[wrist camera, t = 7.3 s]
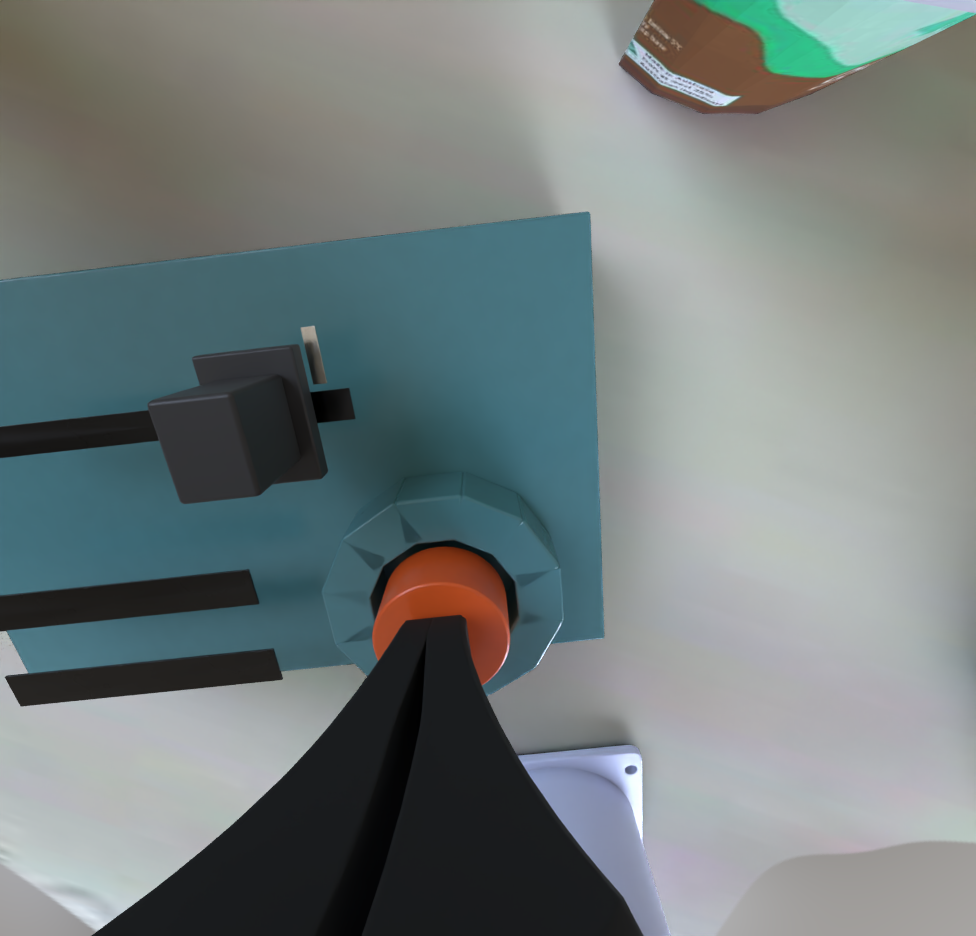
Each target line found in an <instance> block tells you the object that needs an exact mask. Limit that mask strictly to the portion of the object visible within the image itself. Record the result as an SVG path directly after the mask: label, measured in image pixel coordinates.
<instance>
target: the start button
mask: <svg viewBox="0 0 976 936" xmlns="http://www.w3.org/2000/svg"><path fill="white" fill-rule="evenodd" d="M453 615H462V616H463V617H464V618H466V621H467V628H468V635H469V642H470V649H471V656H472V660H473V663H474V666H475V668H476V671H477V674H478V676H479V679H480V682H481V684H482V685H483V684H485V683H486V682H488V681H489V680H490V679H491V678H492V677H494V676H495V674H496V673H497V672H498V671H499V670H500V668H501V667H502V665H503V663H504V662H505V659H506V657H507V655H508V651H509V647H510V629H509V618H508V608H507V598H506V591H505V587H504V584H503V581H502V579H501V577H500V575H499V574H498V572H497V571H496V570H495V569H494V567H493V566H492V565H491V564H490V563H488V562H487V561H486V560H485V559H483V558H482V557H480V556H479V555H477V554H475V553H473V552H471V551H468V550H465V549H461V548H456V547H446V546H445V547H434V548H428V549H425V550H422V551H419V552H417V553H415V554H413V555H411V556H409V557H408V558H406V559H405V560H404V561H403V562H401V563H400V564H399V565H398V566H397V567H396V569H395V570H394V571H393V573H392V574H391V576H390V578H389V580H388V583H387V585H386V588H385V592H384V595H383V598H382V601H381V604H380V607H379V610H378V613H377V617H376V620H375V623H374V626H373V632H372V642H373V648H374V651H375V655H376V657H377V659H378V661H379V659H380V658H381V656H382V655H383V653H384V652H385V650H386V649H387V647H388V646H389V644H390V643H391V641H392V640H393V638H394V637H395V635H396V633H397V632H398V630H399V629H400V627H401V626H402V624H403V623H404V622H405V621H406V620H414V619H424V618H433V617H443V616H453Z"/></svg>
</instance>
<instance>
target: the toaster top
mask: <svg viewBox="0 0 976 936" xmlns="http://www.w3.org/2000/svg"><path fill="white" fill-rule="evenodd" d="M301 333H302V337H303V341H304V346H305V350H306V355H307V359H308V364H309V368H310V372H311V377H312V381H313V385H316V384H325V383H328V382H327V378H326V373H325V368H324V364H323V359H322V355H321V350H320V345H319V341H318V336H317V331H316V327H315V326H309V327H301ZM310 394H311V398H312V402H313V407H314V411H315V415H316V420H317V423H325V422H334V421H343V420H352V419H356V417H355V412H354V407H353V402H352V397H351V392H350V388H341V389H332V390H323V391H314V392H310ZM153 441H159V439H158V436H157V433H156V431H155V428H154V425H153V422H152V419H151V416H150V413H149V410H143V411H134V412H125V413H116V414H107V415H98V416H89V417H80V418H71V419H62V420H53V421H44V422H35V423H26V424H17V425H8V426H0V458H7V457H16V456H26V455H35V454H44V453H53V452H62V451H71V450H80V449H89V448H98V447H107V446H116V445H125V444H134V443H144V442H153ZM259 603H260V602H259V599H258V596H257V593H256V589H255V586H254V583H253V580H252V576H251V573H250V570H249V569H245V570H235V571H226V572H216V573H207V574H197V575H188V576H178V577H169V578H159V579H150V580H140V581H131V582H122V583H112V584H103V585H93V586H84V587H74V588H65V589H55V590H46V591H36V592H27V593H17V594H8V595H0V631H9V630H18V629H28V628H38V627H47V626H57V625H66V624H76V623H85V622H95V621H105V620H114V619H124V618H133V617H143V616H152V615H162V614H172V613H181V612H191V611H200V610H210V609H219V608H229V607H239V606H248V605H258V604H259ZM5 678H6V680H7V682H8V684H9V686H10V688H11V689H12V691H13V693H14V695H15V697H16V699H17V700H18V702H19V704H20V706H30V705H39V704H49V703H59V702H69V701H79V700H88V699H98V698H108V697H118V696H128V695H138V694H147V693H157V692H167V691H177V690H187V689H196V688H206V687H216V686H226V685H236V684H245V683H255V682H265V681H275V680H282V679H283V677H282V674H281V670H280V667H279V664H278V661H277V657H276V654H275V651H274V648H271V649H261V650H251V651H241V652H232V653H222V654H212V655H203V656H193V657H183V658H173V659H164V660H154V661H144V662H135V663H125V664H115V665H106V666H96V667H86V668H76V669H67V670H57V671H47V672H38V673H28V674H18V675H8V676H6V677H5Z"/></svg>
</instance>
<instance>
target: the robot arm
mask: <svg viewBox="0 0 976 936" xmlns="http://www.w3.org/2000/svg"><path fill="white" fill-rule="evenodd" d="M92 936H671V934H670V931H669V928H668V925H667V921H666V918H665V915H664V912H663V908H662V905H661V902H660V898H659V895H658V892H657V889H656V885H655V882H654V879H653V875H652V872H651V869H650V866H649V862H648V859H647V856H646V852H645V849H644V846H643V843H642V756H641V753H640V751H639V749H638V748H637V747H636V746H634V745H620V746H610V747H600V748H590V749H580V750H570V751H560V752H549V753H539V754H529V755H519V756H517V754H516V753H515V751H514V749H513V747H512V746H511V744H510V742H509V740H508V738H507V737H506V735H505V733H504V731H503V729H502V727H501V725H500V724H499V722H498V720H497V718H496V716H495V713H494V711H493V709H492V707H491V705H490V703H489V701H488V698H487V696H486V694H485V692H484V689H483V687H482V684H481V682H480V679H479V676H478V674H477V671H476V668H475V666H474V663H473V660H472V656H471V649H470V642H469V635H468V628H467V621H466V618H464V617H463V616H462V615H453V616H443V617H433V618H424V619H414V620H406V621H405V622H404V623H403V624H402V626H401V627H400V629H399V630H398V632H397V633H396V635H395V637H394V638H393V640H392V641H391V643H390V644H389V646H388V647H387V649H386V650H385V652H384V653H383V655H382V656H381V658H380V659H379V661H378V662H377V664H376V665H375V667H374V668H373V669H372V671H371V672H370V674H369V675H368V676H367V678H366V679H365V680H364V682H363V683H362V685H361V686H360V687H359V689H358V690H357V692H356V693H355V694H354V696H353V697H352V698H351V699H350V701H349V702H348V703H347V704H346V706H345V707H344V708H343V709H342V711H341V712H340V713H339V714H338V716H337V717H336V718H335V719H334V721H333V722H332V723H331V724H330V726H329V727H328V728H327V729H326V730H325V732H324V733H323V734H322V735H321V736H320V737H319V739H318V740H317V741H316V742H315V743H314V744H313V745H312V747H311V748H310V749H309V750H308V751H307V752H306V753H305V754H304V755H303V756H302V757H301V759H300V760H299V761H298V762H297V763H296V764H295V765H294V766H293V767H292V768H291V769H290V770H289V771H288V772H287V773H286V774H285V775H284V776H283V777H282V778H281V779H280V780H279V781H278V782H277V783H276V784H275V785H274V786H273V787H272V788H271V789H270V790H269V791H268V792H267V793H266V794H265V795H264V796H263V797H261V798H260V799H259V800H258V801H257V802H256V803H255V804H254V805H253V806H252V807H251V808H250V809H249V810H248V811H247V812H246V813H244V814H243V815H242V816H241V817H240V818H239V819H238V820H237V821H236V822H235V823H234V824H233V825H231V826H230V827H229V828H228V829H227V830H226V831H224V832H223V833H222V834H221V835H220V836H219V837H217V838H216V839H215V840H214V841H213V842H212V843H210V844H209V845H208V846H207V847H206V848H205V849H203V850H202V851H201V852H200V853H199V854H197V855H196V856H195V857H194V858H192V859H191V860H190V861H189V862H188V863H186V864H185V865H184V866H183V867H181V868H180V869H179V870H178V871H177V872H175V873H174V874H173V875H172V876H170V877H169V878H168V879H166V880H165V881H164V882H163V883H161V884H160V885H159V886H158V887H156V888H155V889H154V890H152V891H151V892H150V893H148V894H147V895H146V896H144V897H143V898H142V899H140V900H139V901H138V902H136V903H135V904H134V905H132V906H131V907H130V908H128V909H127V910H125V911H124V912H123V913H121V914H120V915H119V916H117V917H116V918H115V919H113V920H112V921H111V922H109V923H108V924H107V925H105V926H104V927H103V928H101V929H100V930H99V931H97V932H96V933H95V934H93V935H92Z"/></svg>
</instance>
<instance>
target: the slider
mask: <svg viewBox="0 0 976 936" xmlns="http://www.w3.org/2000/svg"><path fill="white" fill-rule="evenodd" d="M192 362H193V365H194V368H195V371H196V375H197V378H198V381H199V385H200V386H197V387H193V388H190V389H187V390H183V391H180V392H177V393H174V394H170V395H167V396H164V397H160V398H157V399H154V400H151V401H150V402H148V403H147V407H148V410H149V413H150V416H151V419H152V422H153V425H154V428H155V431H156V433H157V436H158V439H159V442H160V445H161V448H162V451H163V454H164V457H165V460H166V462H167V465H168V468H169V471H170V474H171V477H172V480H173V483H174V486H175V489H176V492H177V494H178V497H179V500H180V502H181V503H182V504H191V503H201V502H210V501H219V500H228V499H238V498H247V497H256V496H259V495H261V494H262V493H263V492H264V491H266V490H267V489H268V488H269V487H270V486H271V485H272V484H281V483H290V482H300V481H309V480H318V479H322V478H323V477H324V476H325V475H326V474H327V473H328V468H327V463H326V459H325V455H324V450H323V446H322V441H321V437H320V433H319V428H318V424H317V420H316V415H315V411H314V407H313V402H312V398H311V394H310V389H309V385H308V380H307V376H306V372H305V367H304V363H303V359H302V354H301V350H300V346H299V345H298V344H291V345H282V346H273V347H264V348H255V349H247V350H238V351H229V352H220V353H211V354H203V355H198V356H194V357H192Z"/></svg>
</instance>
